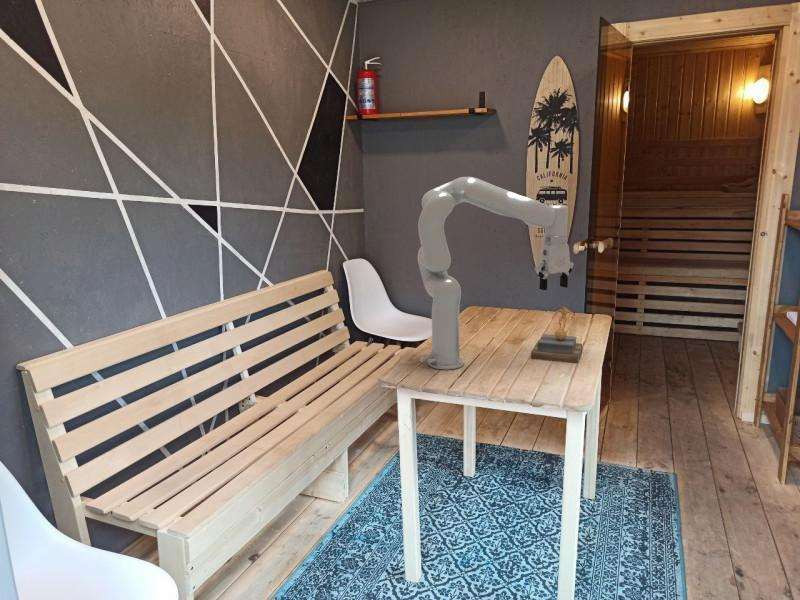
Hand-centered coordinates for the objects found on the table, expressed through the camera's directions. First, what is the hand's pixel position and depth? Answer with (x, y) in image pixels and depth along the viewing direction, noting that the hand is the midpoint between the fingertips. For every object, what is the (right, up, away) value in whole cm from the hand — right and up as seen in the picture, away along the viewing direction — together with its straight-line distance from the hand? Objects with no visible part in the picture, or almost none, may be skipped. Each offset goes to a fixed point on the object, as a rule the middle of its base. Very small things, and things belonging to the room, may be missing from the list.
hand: (553, 288), depth 201 cm
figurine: (+4, -19, +3) cm, 19 cm away
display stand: (+2, -24, +4) cm, 24 cm away
